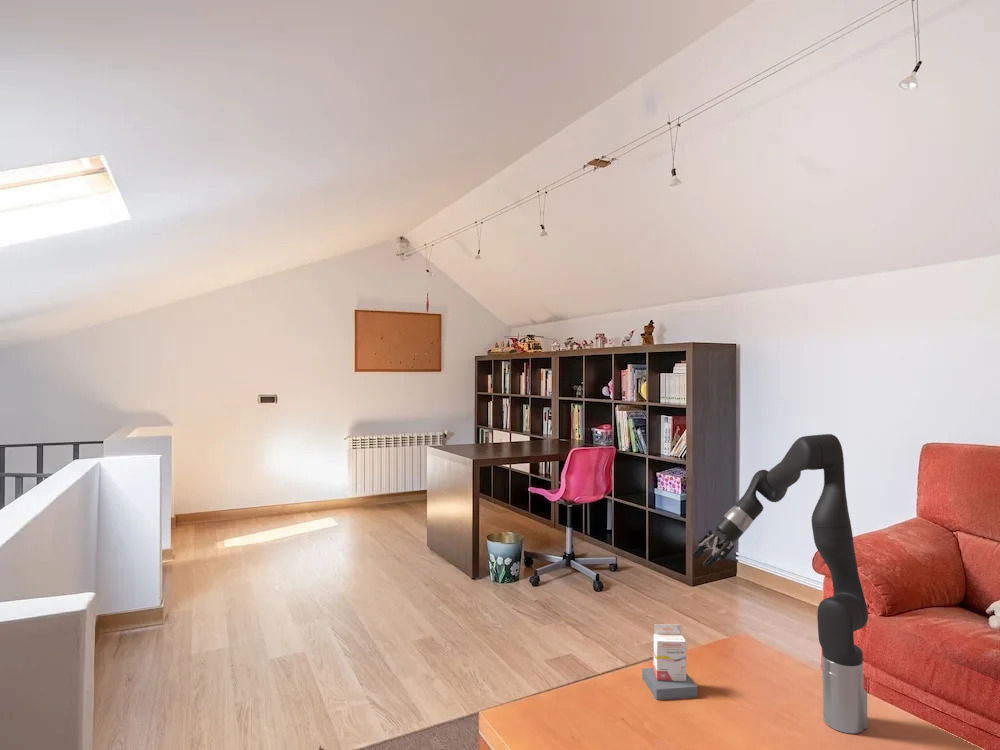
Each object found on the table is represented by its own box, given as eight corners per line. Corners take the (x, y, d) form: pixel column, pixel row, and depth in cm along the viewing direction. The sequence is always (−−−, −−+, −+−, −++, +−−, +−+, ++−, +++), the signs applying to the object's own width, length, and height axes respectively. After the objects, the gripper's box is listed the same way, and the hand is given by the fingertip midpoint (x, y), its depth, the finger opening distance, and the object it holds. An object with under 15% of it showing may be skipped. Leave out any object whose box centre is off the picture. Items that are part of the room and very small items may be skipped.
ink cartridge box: (657, 681, 174) (656, 630, 173) (653, 672, 179) (652, 623, 178) (687, 681, 173) (686, 630, 173) (682, 673, 178) (681, 623, 178)
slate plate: (680, 675, 182) (680, 666, 182) (697, 697, 170) (697, 686, 170) (642, 678, 181) (642, 668, 181) (656, 700, 169) (656, 689, 169)
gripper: (715, 510, 196) (682, 547, 195) (737, 521, 182) (701, 561, 181) (731, 526, 196) (697, 562, 195) (753, 538, 182) (718, 577, 181)
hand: (699, 561), depth 188 cm, fingers open, 8 cm apart
